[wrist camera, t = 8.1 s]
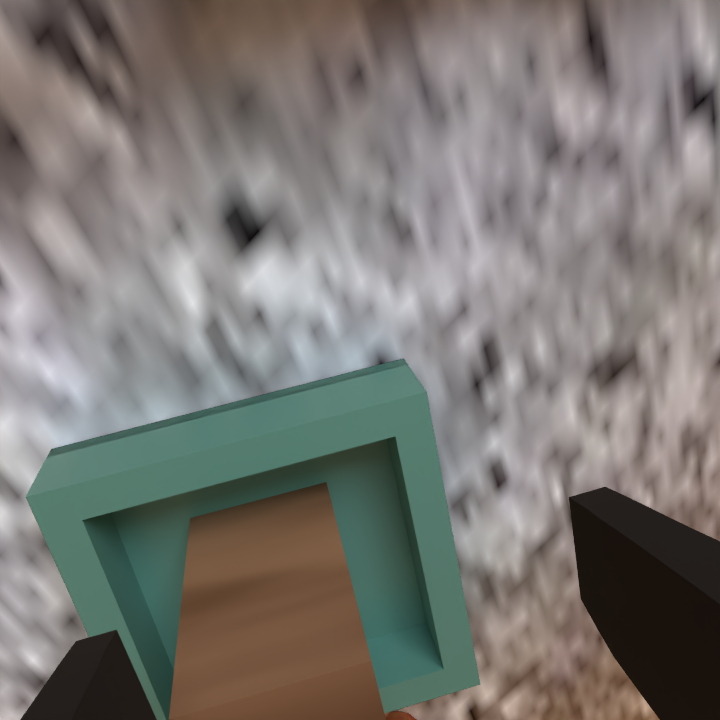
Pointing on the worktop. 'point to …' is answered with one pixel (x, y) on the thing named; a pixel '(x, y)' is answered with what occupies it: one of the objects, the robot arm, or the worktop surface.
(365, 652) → the walnut post
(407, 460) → the teal well
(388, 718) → the bread slice
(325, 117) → the worktop surface
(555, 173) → the worktop surface
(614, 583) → the robot arm
